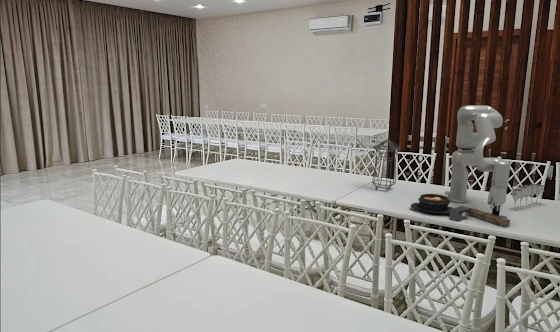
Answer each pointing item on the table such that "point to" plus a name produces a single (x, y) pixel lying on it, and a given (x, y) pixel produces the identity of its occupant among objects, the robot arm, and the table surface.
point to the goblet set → (526, 194)
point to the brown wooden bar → (489, 217)
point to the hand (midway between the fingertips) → (495, 217)
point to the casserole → (433, 204)
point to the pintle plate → (502, 225)
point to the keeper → (458, 212)
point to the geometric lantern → (385, 160)
